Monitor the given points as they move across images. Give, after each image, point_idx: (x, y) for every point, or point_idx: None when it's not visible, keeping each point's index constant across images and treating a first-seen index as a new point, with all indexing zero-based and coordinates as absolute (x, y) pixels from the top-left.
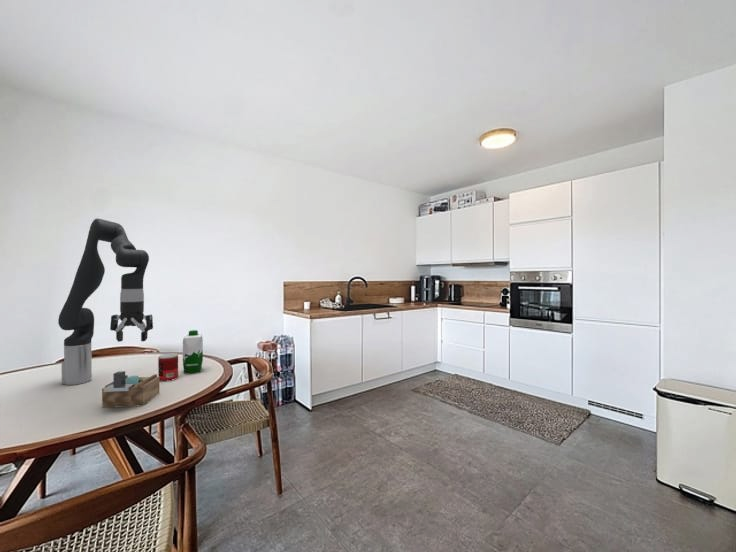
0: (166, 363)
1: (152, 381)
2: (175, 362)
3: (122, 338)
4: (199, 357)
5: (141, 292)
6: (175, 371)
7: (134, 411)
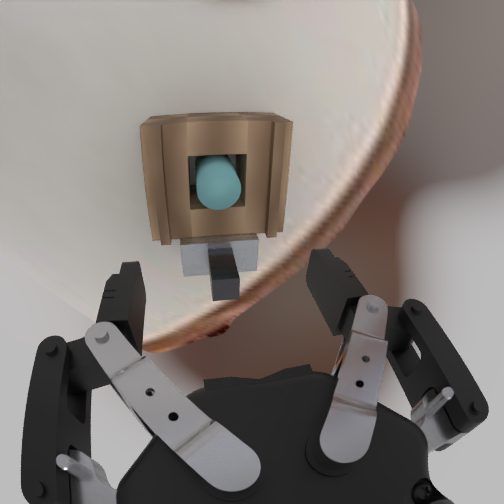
0: None
1: (287, 174)
2: None
3: (137, 275)
4: None
5: None
6: None
7: (262, 237)
